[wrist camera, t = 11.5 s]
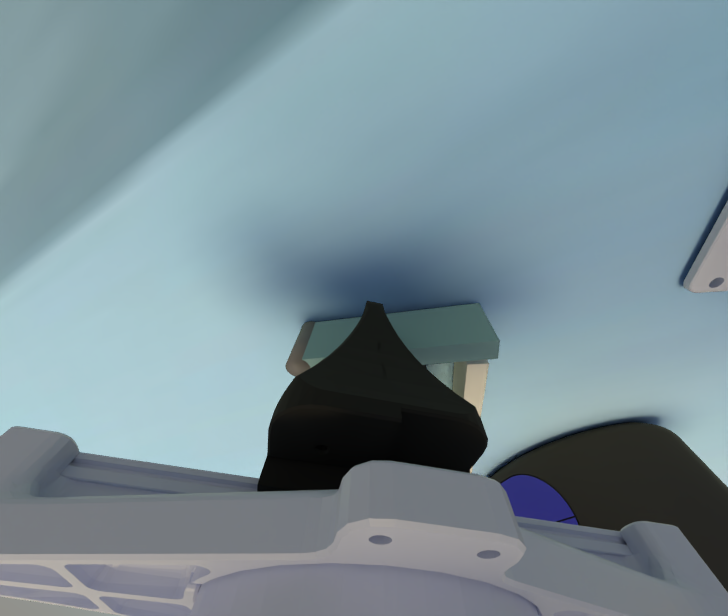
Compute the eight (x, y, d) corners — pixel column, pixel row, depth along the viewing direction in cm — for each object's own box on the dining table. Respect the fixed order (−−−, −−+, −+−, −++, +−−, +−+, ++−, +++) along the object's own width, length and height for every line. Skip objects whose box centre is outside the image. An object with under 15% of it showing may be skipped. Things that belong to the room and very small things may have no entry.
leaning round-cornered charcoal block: (625, 392, 17) (833, 618, 9) (666, 421, 18) (883, 644, 10) (444, 490, 25) (472, 658, 17) (481, 506, 26) (524, 670, 18)
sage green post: (479, 301, 14) (499, 338, 11) (478, 320, 15) (497, 360, 12) (299, 322, 15) (282, 359, 13) (305, 339, 16) (290, 378, 14)
